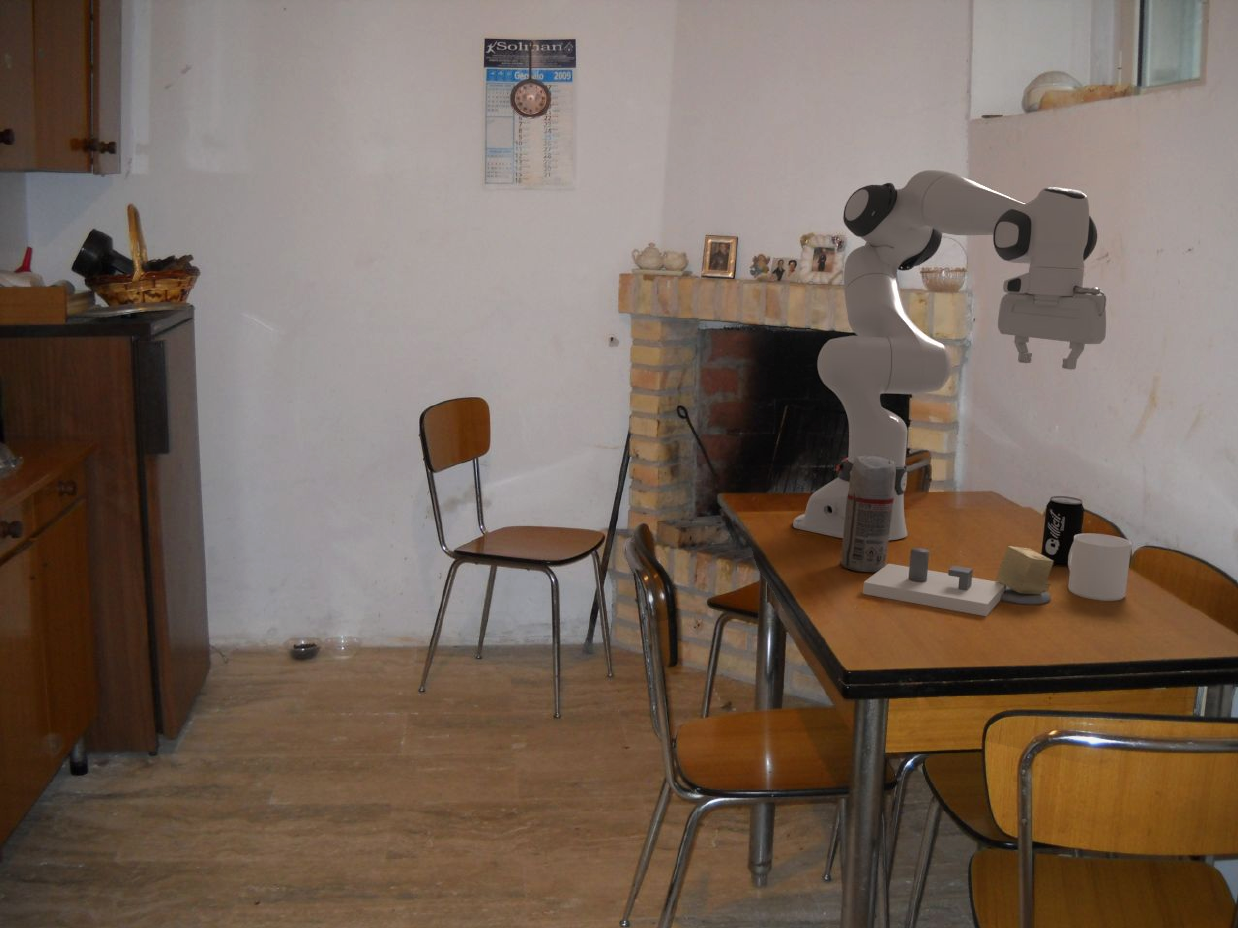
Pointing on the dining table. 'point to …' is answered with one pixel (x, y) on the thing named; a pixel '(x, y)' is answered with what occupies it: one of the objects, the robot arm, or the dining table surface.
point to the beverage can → (1061, 527)
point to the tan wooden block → (1025, 570)
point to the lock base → (935, 586)
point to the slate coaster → (1025, 597)
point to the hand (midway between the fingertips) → (1046, 365)
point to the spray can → (868, 513)
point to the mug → (1099, 566)
